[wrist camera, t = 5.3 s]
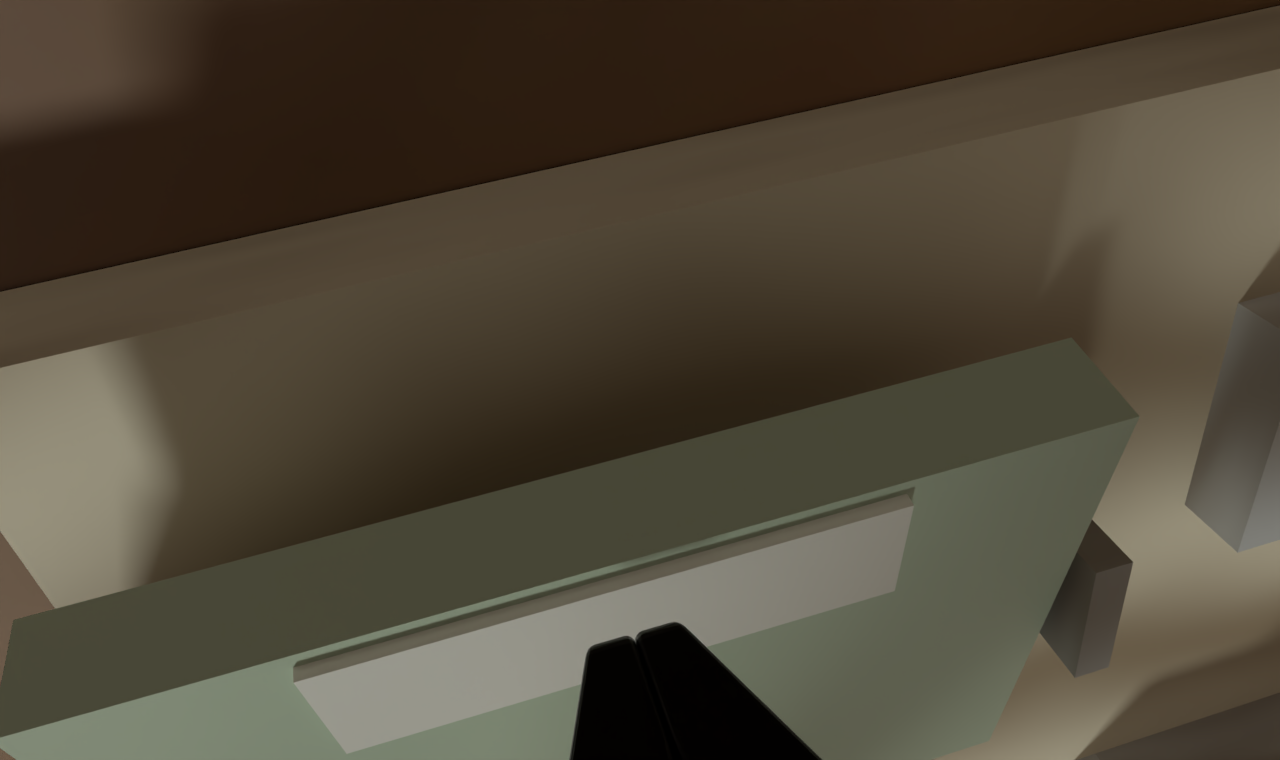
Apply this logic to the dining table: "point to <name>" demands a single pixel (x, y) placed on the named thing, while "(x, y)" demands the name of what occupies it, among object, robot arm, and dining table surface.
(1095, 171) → the control panel
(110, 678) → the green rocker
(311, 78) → the dining table surface
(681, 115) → the dining table surface
